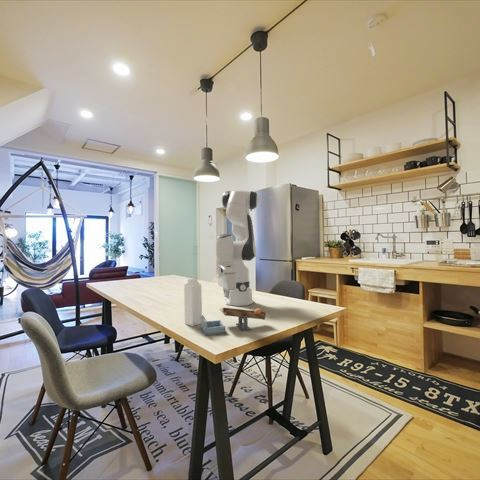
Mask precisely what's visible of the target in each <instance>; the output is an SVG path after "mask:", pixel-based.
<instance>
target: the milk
mask: <svg viewBox="0 0 480 480" xmlns="http://www.w3.org/2000/svg"><path fill="white" fill-rule="evenodd" d="M183 293H184V297H183V298H184V324H185V325H187V326H191V327H193V326H194V327H195V326H197V325H201V316H202V315H203V311H202V310H203V307H202V303H203V302H202V301H203V298H202V284H201V283H200V282H199V280H198V278H197V277H196V278H195V277H194V278H188V279H187V283H185V284H184V286H183Z"/></svg>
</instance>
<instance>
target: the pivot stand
mask: <svg viewBox="0 0 480 480" xmlns="http://www.w3.org/2000/svg"><path fill="white" fill-rule="evenodd" d="M248 319H249V318H248V317H247V315H243V319H242V318H241V317H238V320H237V321H238V322H236V323H235V325H236V327H237V328H238V329H239V330H240V331H241V332H248V331H251V330H252V329H251V328H250V327H249V324H248V321H249V320H248Z"/></svg>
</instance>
